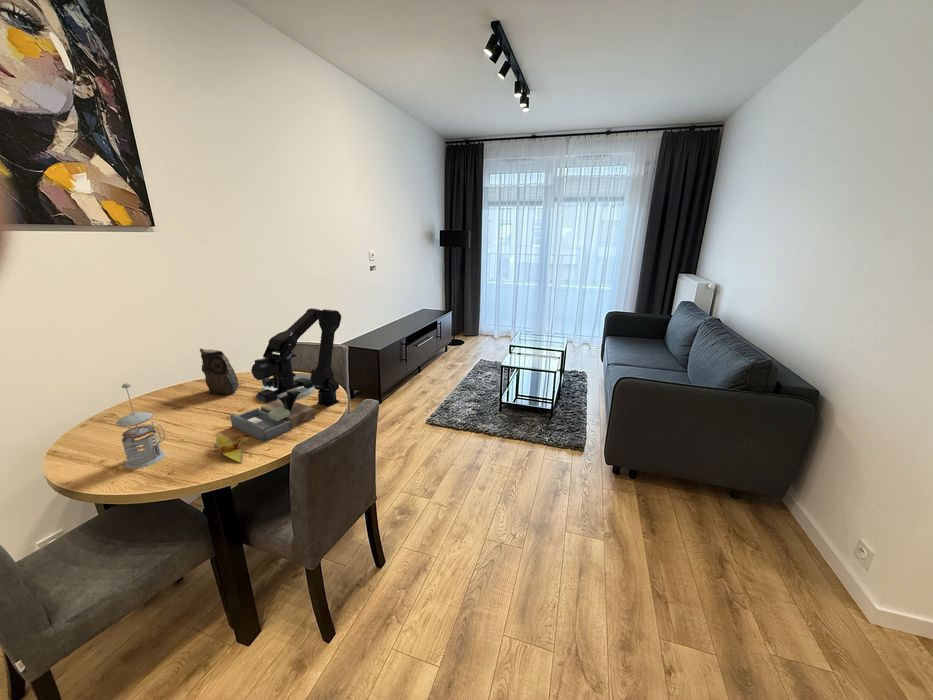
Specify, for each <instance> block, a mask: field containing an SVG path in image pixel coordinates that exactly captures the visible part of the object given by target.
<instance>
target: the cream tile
mask: <svg viewBox="0 0 933 700" xmlns="http://www.w3.org/2000/svg"><path fill="white" fill-rule="evenodd" d="M248 421H250V422H253V423H255V424H257V425H259V426H263V420H260V419H258V418H256V417H254V418H251V419H248Z"/></svg>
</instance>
